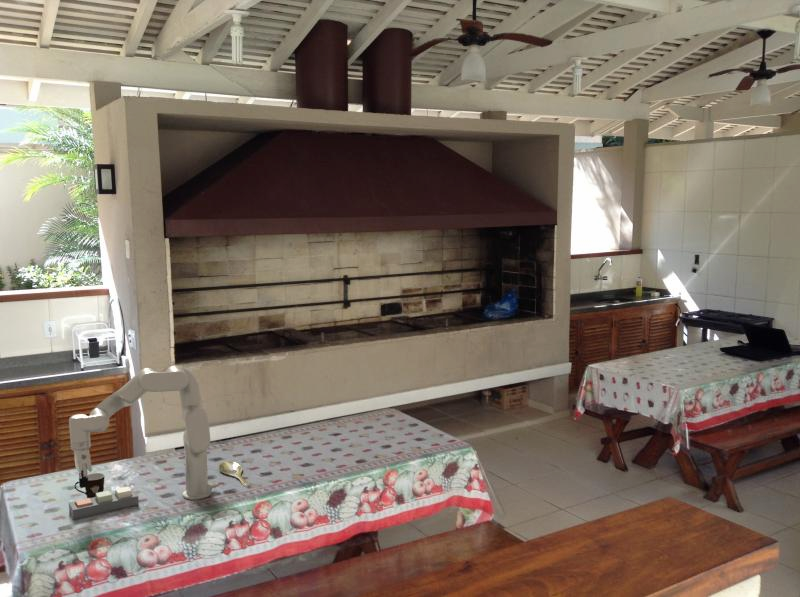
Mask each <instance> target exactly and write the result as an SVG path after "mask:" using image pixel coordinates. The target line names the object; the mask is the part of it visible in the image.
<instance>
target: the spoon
mask: <svg viewBox="0 0 800 597" xmlns="http://www.w3.org/2000/svg"><path fill="white" fill-rule="evenodd" d="M217 469H218V470H219V472H221V473H223V474H225V475H228V476H231V477H235V478H237V479H238V480H239V481H240V483H241V484H242V486H243V485H244V484H245V485H246V484H247V483H249V482H248V481H247V480H246V479H245V478H243V476H242V473H243V467H242V465H240V464H239V463H237V462H235V461H231V460H230V461H228V460H227V461H222V462H220V463H219V464H218V468H217ZM228 470H230V471H233V470H236V471H237V472H236V473H235V472H234V473H231V472H228ZM230 473H231V474H230Z"/></svg>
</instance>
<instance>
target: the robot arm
mask: <svg viewBox="0 0 800 597" xmlns="http://www.w3.org/2000/svg"><path fill="white" fill-rule="evenodd" d="M149 392H150V393H162V392H163V393H164V392H165V393H166V392H179V396H180V397H179V398H180V405H181V417H182V420H183V421H184V423H185V430H184V432H183V436H182V437H183V439H182V440H183V448H184V449H183V450H184V468H185V471H184V473H185V490H184V491H183V492H182V498H184V499H186V500H189V501H191V500H192V501H196V500H197V501H199V500H203V499H205V498H208V497H210V496H211V495H212V493H213V490H212V489H216V488H219V487H220V485H219V482H214V481H212V482H209V478H208V477H209V476H208V475H209V474H208V473H209V472H208V449H209V448H210V445H211V431H210V423H209V417H208V414H207V412H206V410H205V409H204V407H203V405H202V397H201V392H200V386H199V382H198V381H197V378H196V377H195V375H194V374H193V373H192V372H191V371H190V370H189V369H187V368H186V367H183V366H180V365H171V366H169V367H168V368H167V369H166V370H165V371H156V370H155V369H154V368H150V367H144V368H143V369H141V370H140V371H138V372H137V373H136V374H135V375H134V376H133V377H132V378H131V379H130V380H129V381H127V382H126V383H125V384H124V385H123V386H121V387H120V388H119V389H118V390H116V391H114V392H113V393H112V394H111V395H109V396H108V397H106V398H105V399H103V400H102V401H101V402H100V403H99V404H98V405H96V406H95V407H94V408H92V410H91V412H90V413H89V415H87V414H85V413H78V414H73V415H71V416H70V417H69V419H68V427H69V429H68V430H69V440H70V449H71V451H73V456H74V465H75V469H76V471H77V472H78V482H79V483H78V484H79V486H78V487H79V488H80V489H83V488H85V487H88V486H89V485H88V475H89V474H88V472H92V471H93V470H92V461H91V453H90V448H91V446H92V444H91V443H92V442H91V433H102V432H104V431H107V429H108V428H109V427H110V420H109V419H110V418H111V417H112V416H113V415H114V414H116V413H117V412H118V411H120V410H121V409H123V408H125V407H130V406H132V405H134V404H135V403H136V402H138V400H140V399H141V398H142V397H143V396H144V395H145V394H146V393H149Z"/></svg>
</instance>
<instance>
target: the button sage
mask: <svg viewBox="0 0 800 597" xmlns="http://www.w3.org/2000/svg"><path fill="white" fill-rule="evenodd" d="M111 500H112V493H111V491H110V490H103V492H99V493H96V501H97V503H102V502H107V501H111Z"/></svg>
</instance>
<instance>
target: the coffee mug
mask: <svg viewBox="0 0 800 597" xmlns="http://www.w3.org/2000/svg"><path fill="white" fill-rule="evenodd" d="M77 484H79V481H76V482H75V484H74V489H75V490H76V491H77V492H79V493H82V494H84V495H85V496H86V499H87V498H93V497H96V493H99V492H104V491H105V490H104V488H105V487H104V486H105V473H102V472H101V473H100V472H94V473H89V474H88V485H89V486H88V487H84V488H85V491H83V490H79V489H78V488H77Z"/></svg>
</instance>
